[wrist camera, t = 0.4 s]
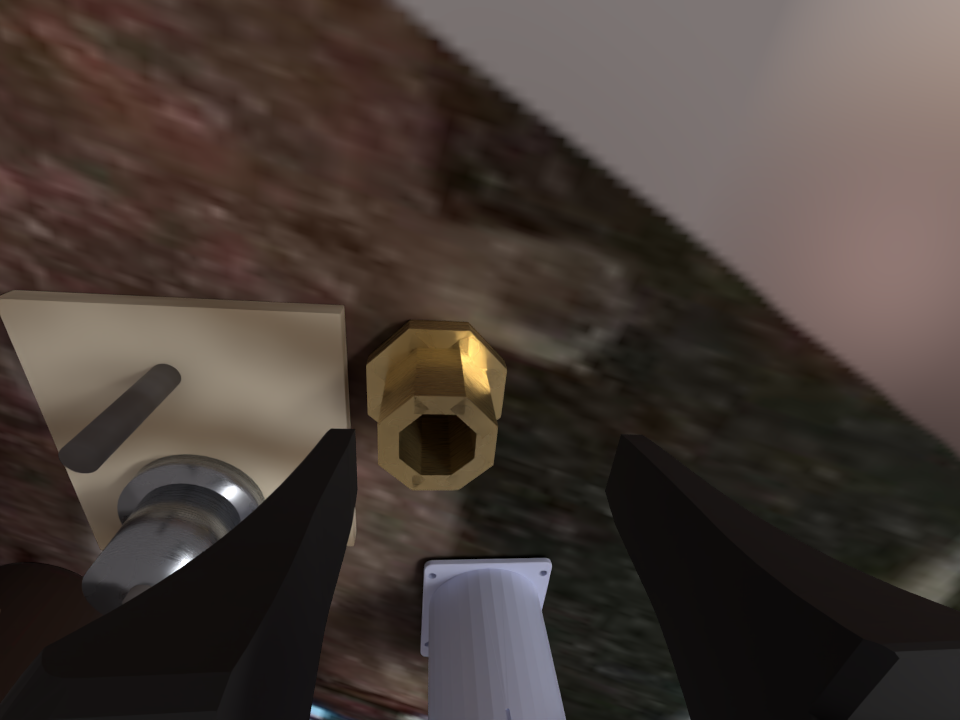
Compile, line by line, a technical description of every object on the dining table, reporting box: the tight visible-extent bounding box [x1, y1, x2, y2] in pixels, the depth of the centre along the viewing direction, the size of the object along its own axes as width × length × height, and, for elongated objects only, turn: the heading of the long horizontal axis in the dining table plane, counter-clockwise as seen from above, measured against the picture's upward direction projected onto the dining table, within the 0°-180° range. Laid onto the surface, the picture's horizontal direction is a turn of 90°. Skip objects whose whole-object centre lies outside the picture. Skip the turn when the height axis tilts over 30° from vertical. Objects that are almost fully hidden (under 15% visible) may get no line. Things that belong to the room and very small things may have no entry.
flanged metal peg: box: [82, 454, 265, 615], centre depth 21 cm, size 6×6×5 cm
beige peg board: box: [0, 290, 356, 605], centre depth 20 cm, size 14×13×6 cm
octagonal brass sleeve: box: [366, 320, 507, 490], centre depth 20 cm, size 6×6×5 cm
